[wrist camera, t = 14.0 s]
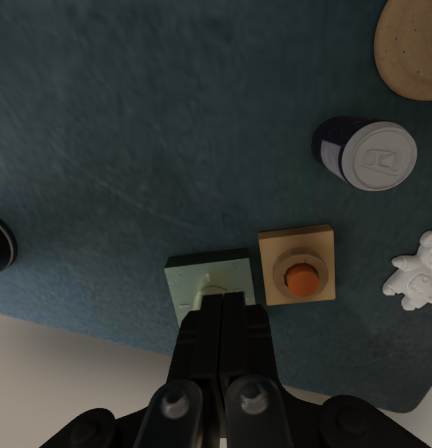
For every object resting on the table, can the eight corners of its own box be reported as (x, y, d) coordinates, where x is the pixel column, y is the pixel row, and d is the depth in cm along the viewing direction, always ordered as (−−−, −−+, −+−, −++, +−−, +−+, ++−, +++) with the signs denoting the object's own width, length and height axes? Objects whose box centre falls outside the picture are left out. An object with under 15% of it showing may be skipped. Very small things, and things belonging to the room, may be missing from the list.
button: (287, 290, 37) (289, 298, 36) (284, 265, 36) (287, 273, 34) (316, 287, 37) (320, 295, 35) (315, 262, 36) (318, 269, 34)
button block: (265, 296, 42) (268, 314, 38) (257, 232, 39) (259, 246, 35) (330, 289, 41) (339, 307, 37) (328, 223, 38) (338, 236, 34)
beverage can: (353, 169, 35) (408, 199, 24) (305, 164, 35) (337, 191, 24) (367, 118, 33) (434, 125, 22) (315, 113, 33) (356, 117, 22)
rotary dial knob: (191, 288, 39) (185, 311, 34) (230, 284, 38) (229, 308, 34) (197, 319, 41) (193, 346, 36) (235, 317, 40) (235, 343, 36)
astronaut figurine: (366, 277, 40) (376, 290, 37) (446, 214, 36) (463, 223, 33) (407, 312, 42) (420, 327, 39) (487, 256, 38) (507, 269, 35)
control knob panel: (186, 326, 45) (182, 341, 42) (168, 257, 41) (163, 268, 38) (258, 319, 44) (259, 335, 41) (248, 247, 40) (249, 259, 37)
